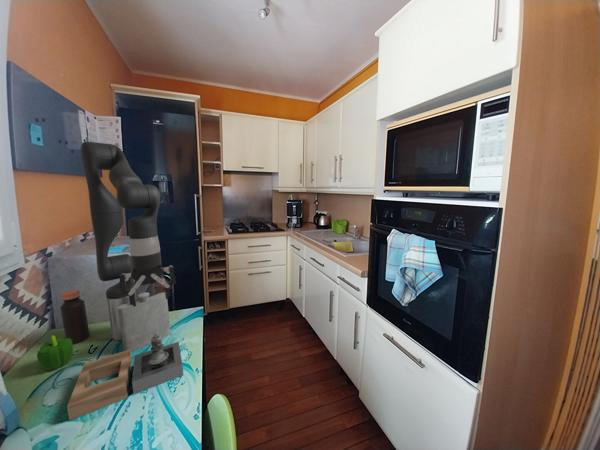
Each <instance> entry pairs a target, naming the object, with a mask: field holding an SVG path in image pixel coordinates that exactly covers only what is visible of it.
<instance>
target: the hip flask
mask: <svg viewBox="0 0 600 450" xmlns="http://www.w3.org/2000/svg"><path fill="white" fill-rule="evenodd" d="M137 298H138V299H136V306H135V307H133V305H130V303H128V304H124V305H121V306H119V307H118V313H119V320H120V328H121V335H122V340H121V342H122V347H123V351H127V350H131V353H134V352H136V351H139V350H141V349H143V348H146V347H148V346H150V345H151V339H152V338H153V337H154V335H155V334H157V335H159V336H161V340H162V339H165V338H167V337H168V336H170V335H171V333H172V332H171V331H172V330H171V322H170V313H169V303H168V299H166V296H165V291H164V292H163V291H162V292H159V293H156V294H155V295H151V296H150V293H149V292H141V293H140V294H138V295H137Z"/></svg>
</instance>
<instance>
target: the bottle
mask: <svg viewBox="0 0 600 450" xmlns="http://www.w3.org/2000/svg"><path fill="white" fill-rule="evenodd" d="M80 297H81V293H80V289H70V290H66V291H64V292H62V293H61V298H62V299H61V300H62V301H63V303H62V304H61V306H60V313H61V319H62V324H63V329H64V336H65V339H67V338H70V339H71V340H72V345H76V344H79V343H82V342H83V341H85V340H87V339H88V338H89V337H90V329H89V323H88V316H87V310H86V305H85V304H86V303H85V300H83V299H81V298H80Z"/></svg>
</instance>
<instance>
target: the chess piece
mask: <svg viewBox="0 0 600 450" xmlns="http://www.w3.org/2000/svg"><path fill="white" fill-rule="evenodd" d="M150 345H151V347H150V350H151V351H152V356H151V357H149V359H148V361H147V362H148V364H149V365H150V366H151V368H150V371H152V370H155V369H158V368H161V367H163V366H166V365H168V362H166V361H167V358H168V355H169V354H168V353H167V352H163V348H162V347H163V346H164V344H163V343H162V339H161V336H159V335H157V334H155V335H154V337H153V338H152V339H151V344H150Z"/></svg>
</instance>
